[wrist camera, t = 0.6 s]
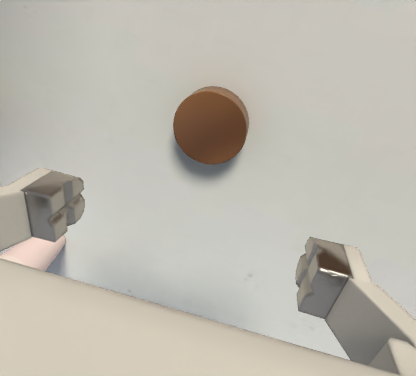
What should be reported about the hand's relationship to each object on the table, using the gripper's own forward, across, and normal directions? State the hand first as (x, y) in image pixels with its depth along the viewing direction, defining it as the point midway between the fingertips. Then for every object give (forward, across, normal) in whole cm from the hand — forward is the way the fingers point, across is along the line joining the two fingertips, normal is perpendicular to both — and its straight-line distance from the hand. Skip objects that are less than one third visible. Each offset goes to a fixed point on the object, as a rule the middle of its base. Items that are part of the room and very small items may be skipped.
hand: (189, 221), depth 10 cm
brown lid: (+19, +2, +2) cm, 19 cm away
